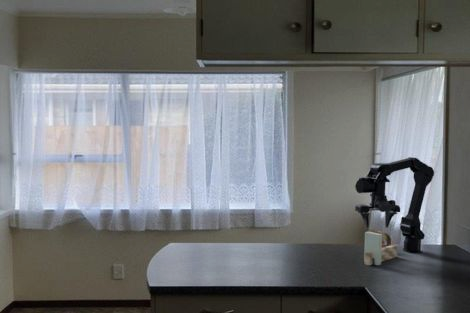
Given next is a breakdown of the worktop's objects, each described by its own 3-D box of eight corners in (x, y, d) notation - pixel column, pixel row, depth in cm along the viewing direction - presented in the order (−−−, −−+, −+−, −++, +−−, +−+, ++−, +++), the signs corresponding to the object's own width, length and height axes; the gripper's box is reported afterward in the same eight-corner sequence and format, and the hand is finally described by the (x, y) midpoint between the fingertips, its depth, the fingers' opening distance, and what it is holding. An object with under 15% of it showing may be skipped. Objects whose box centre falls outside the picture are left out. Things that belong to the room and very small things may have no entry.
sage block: (367, 260, 210) (368, 231, 210) (381, 264, 206) (382, 234, 205) (363, 261, 209) (365, 232, 208) (377, 265, 204) (378, 235, 203)
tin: (364, 245, 238) (365, 228, 238) (369, 245, 239) (370, 227, 239) (386, 253, 225) (387, 234, 224) (391, 252, 226) (392, 234, 225)
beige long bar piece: (392, 255, 220) (393, 244, 219) (397, 256, 218) (397, 245, 218) (364, 264, 205) (365, 252, 205) (369, 265, 204) (369, 253, 203)
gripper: (366, 195, 210) (365, 232, 211) (407, 194, 213) (406, 231, 214) (355, 191, 220) (354, 226, 221) (394, 191, 224) (393, 226, 225)
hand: (377, 227), depth 220 cm, fingers open, 9 cm apart
